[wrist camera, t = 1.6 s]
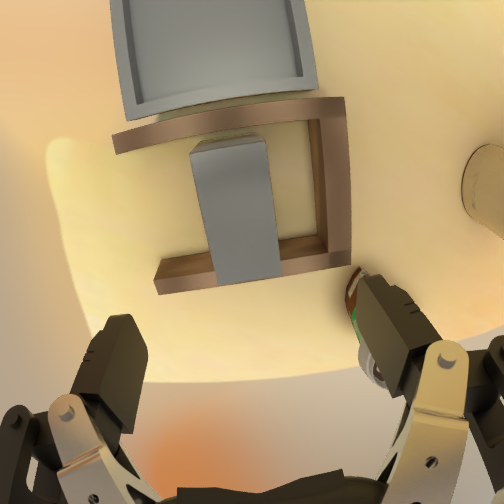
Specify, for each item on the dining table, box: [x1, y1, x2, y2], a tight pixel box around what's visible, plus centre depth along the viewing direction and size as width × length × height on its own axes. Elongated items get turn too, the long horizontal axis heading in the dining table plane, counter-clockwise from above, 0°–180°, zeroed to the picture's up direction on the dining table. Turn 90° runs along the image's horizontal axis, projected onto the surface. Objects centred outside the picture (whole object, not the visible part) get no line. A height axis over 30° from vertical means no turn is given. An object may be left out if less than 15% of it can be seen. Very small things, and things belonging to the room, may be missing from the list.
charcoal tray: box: [110, 0, 319, 121], centre depth 16 cm, size 14×15×2 cm
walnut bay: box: [112, 97, 351, 295], centre depth 23 cm, size 16×14×4 cm
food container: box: [345, 267, 388, 390], centre depth 27 cm, size 12×6×10 cm, turn 53°
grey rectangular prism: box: [189, 132, 282, 286], centre depth 21 cm, size 4×9×7 cm, turn 8°
